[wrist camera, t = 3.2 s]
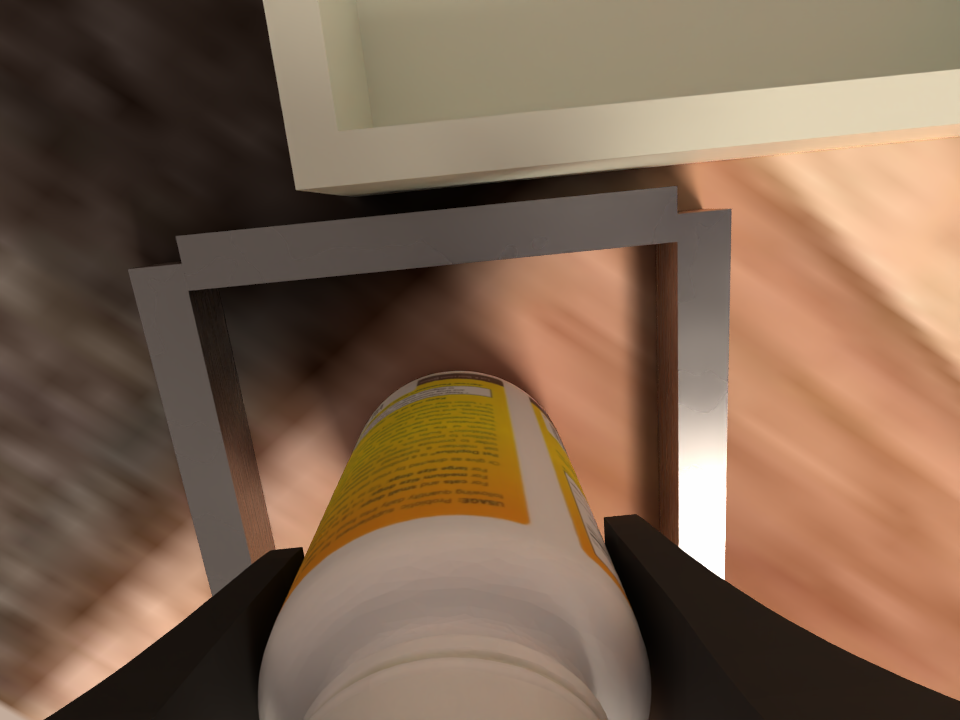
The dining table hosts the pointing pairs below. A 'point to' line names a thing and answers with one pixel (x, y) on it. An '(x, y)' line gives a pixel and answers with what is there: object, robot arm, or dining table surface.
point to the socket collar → (424, 243)
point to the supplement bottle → (456, 576)
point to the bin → (598, 84)
